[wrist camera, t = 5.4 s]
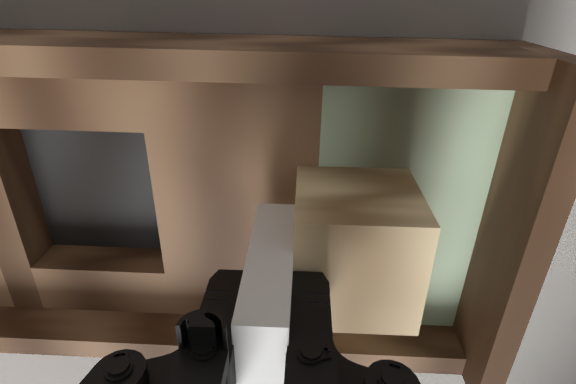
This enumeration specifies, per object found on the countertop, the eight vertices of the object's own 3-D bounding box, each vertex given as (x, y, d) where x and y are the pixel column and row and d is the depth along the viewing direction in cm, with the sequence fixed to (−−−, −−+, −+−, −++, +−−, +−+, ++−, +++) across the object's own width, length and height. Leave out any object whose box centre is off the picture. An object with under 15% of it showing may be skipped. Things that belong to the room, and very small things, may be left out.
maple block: (408, 168, 17) (440, 228, 13) (394, 260, 19) (418, 336, 15) (297, 165, 17) (293, 223, 13) (295, 256, 19) (291, 330, 15)
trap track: (522, 40, 17) (623, 68, 11) (453, 307, 23) (497, 405, 18) (-197, 23, 18) (-417, 43, 12) (-72, 284, 24) (-181, 371, 19)
